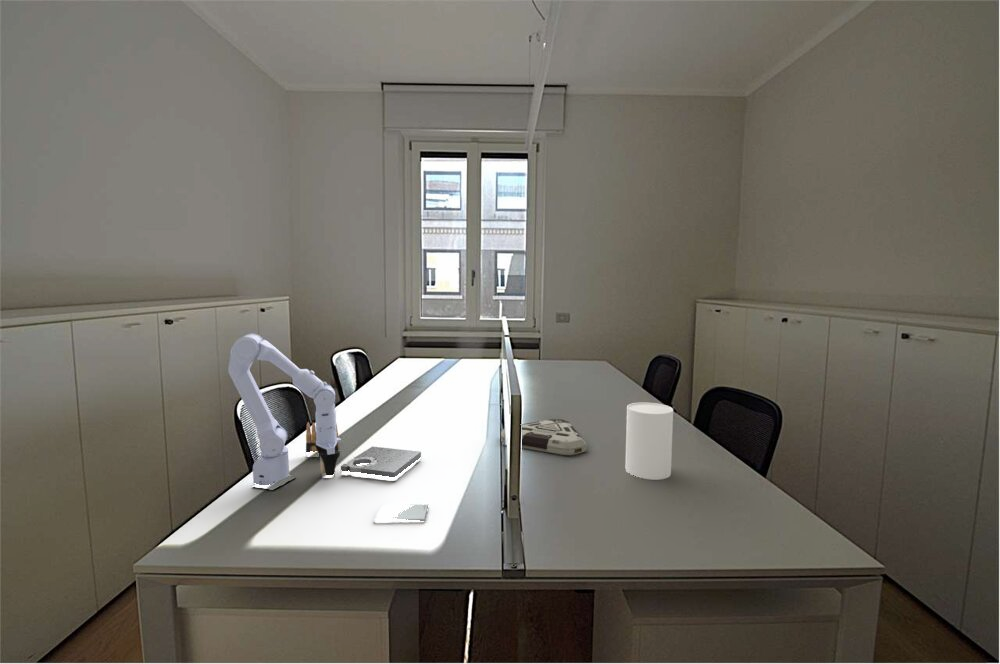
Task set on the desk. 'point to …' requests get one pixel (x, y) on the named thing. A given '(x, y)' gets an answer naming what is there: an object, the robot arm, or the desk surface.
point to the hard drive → (414, 513)
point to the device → (551, 437)
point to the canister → (649, 440)
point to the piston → (322, 466)
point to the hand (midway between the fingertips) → (327, 470)
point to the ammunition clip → (311, 443)
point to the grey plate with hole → (382, 461)
